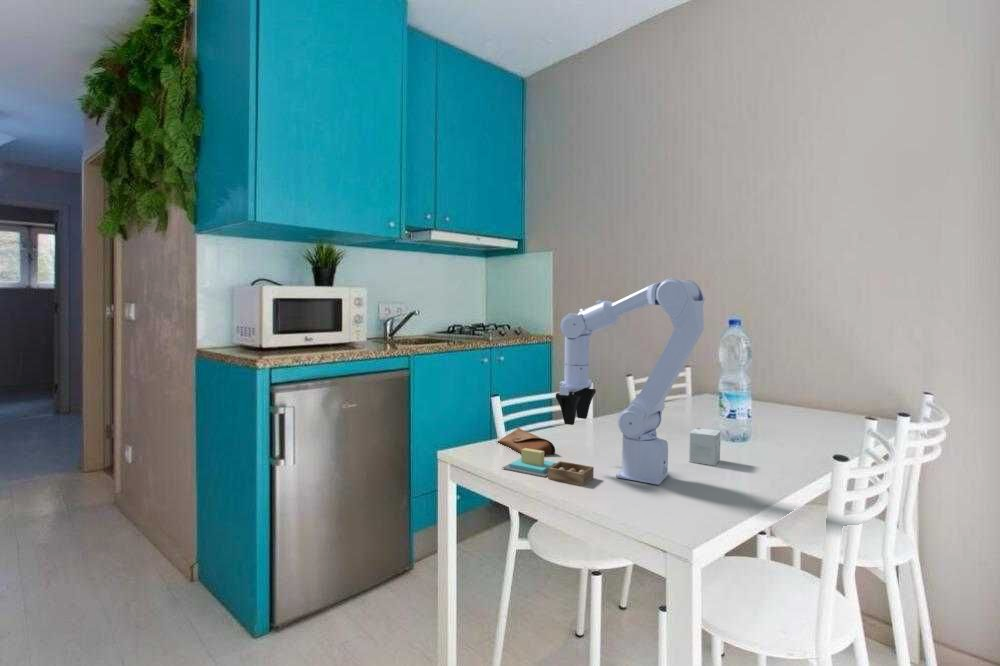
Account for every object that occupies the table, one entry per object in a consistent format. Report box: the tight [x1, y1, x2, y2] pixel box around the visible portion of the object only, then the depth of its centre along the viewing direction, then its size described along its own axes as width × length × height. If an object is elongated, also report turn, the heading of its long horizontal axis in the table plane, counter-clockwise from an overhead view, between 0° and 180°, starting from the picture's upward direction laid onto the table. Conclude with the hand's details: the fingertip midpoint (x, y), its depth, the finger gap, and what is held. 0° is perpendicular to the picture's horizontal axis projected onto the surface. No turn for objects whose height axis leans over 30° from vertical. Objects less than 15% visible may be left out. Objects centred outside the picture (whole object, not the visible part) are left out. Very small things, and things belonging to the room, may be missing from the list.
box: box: [547, 460, 595, 486], centre depth 115 cm, size 8×6×2 cm
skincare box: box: [688, 427, 721, 467], centre depth 129 cm, size 6×6×7 cm
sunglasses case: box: [496, 426, 556, 457], centre depth 140 cm, size 18×7×7 cm
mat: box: [501, 463, 548, 478], centre depth 122 cm, size 11×9×1 cm
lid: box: [508, 448, 557, 474], centre depth 122 cm, size 9×7×4 cm
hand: (575, 421), depth 127 cm, fingers open, 7 cm apart
